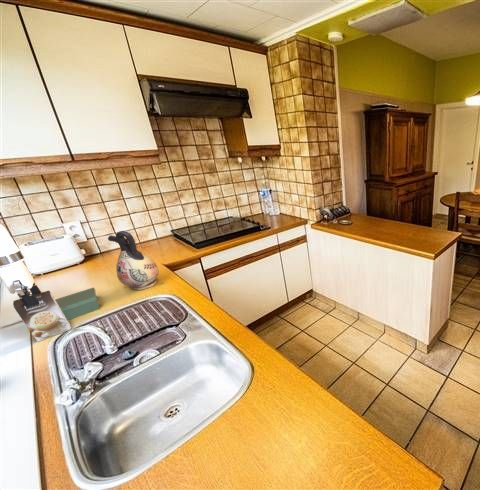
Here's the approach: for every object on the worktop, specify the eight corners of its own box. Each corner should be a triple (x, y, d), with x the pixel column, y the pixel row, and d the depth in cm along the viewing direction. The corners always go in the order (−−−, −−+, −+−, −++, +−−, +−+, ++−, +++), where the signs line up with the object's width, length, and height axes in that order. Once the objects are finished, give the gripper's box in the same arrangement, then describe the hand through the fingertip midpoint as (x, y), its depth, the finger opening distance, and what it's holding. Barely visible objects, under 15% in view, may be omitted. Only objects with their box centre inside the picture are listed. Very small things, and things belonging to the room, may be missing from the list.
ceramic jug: (116, 292, 128) (87, 235, 116) (147, 276, 142) (124, 224, 130) (143, 296, 124) (116, 236, 112) (172, 279, 138) (151, 225, 126)
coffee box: (36, 343, 98) (11, 307, 91) (36, 335, 102) (11, 301, 95) (71, 329, 104) (50, 294, 98) (70, 322, 108) (49, 289, 102)
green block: (47, 327, 106) (39, 315, 104) (49, 314, 114) (42, 303, 112) (101, 308, 117) (95, 296, 114) (99, 298, 124) (93, 287, 122)
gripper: (-7, 256, 94) (22, 296, 100) (-18, 271, 82) (15, 315, 89) (25, 249, 98) (51, 288, 105) (19, 262, 87) (48, 304, 94)
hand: (34, 300), depth 97 cm, fingers open, 9 cm apart
